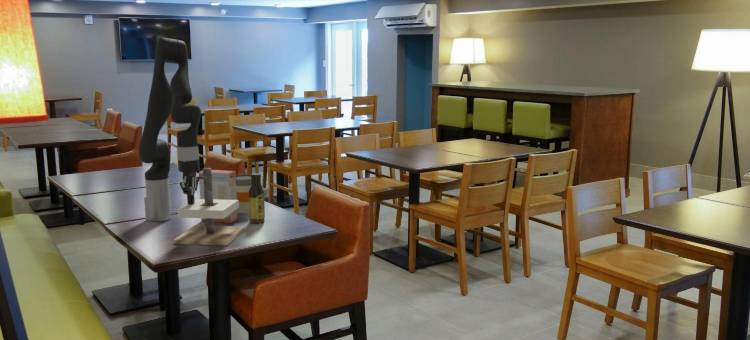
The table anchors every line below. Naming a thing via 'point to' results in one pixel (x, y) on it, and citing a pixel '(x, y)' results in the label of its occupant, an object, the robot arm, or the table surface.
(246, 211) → the reusable coffee cup
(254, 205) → the sauce bottle
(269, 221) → the table surface
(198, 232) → the pipe stand
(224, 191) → the cracker box
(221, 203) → the off-white slab
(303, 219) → the table surface
